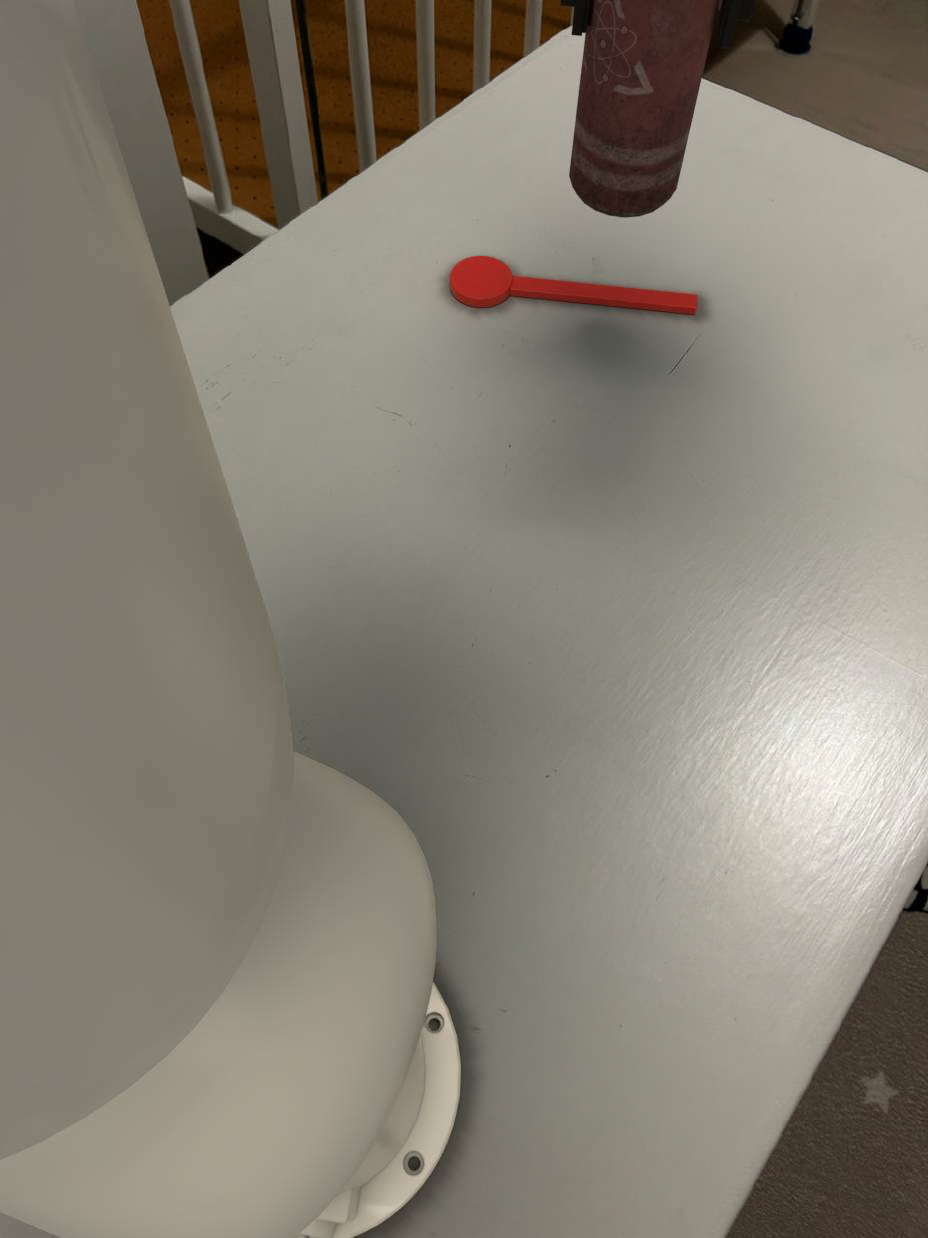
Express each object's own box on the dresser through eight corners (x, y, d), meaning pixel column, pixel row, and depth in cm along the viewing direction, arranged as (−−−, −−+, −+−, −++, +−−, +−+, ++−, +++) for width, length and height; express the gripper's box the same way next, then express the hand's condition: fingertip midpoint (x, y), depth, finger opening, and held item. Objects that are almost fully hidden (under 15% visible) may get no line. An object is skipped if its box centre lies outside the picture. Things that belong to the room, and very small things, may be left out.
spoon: (696, 285, 68) (698, 276, 68) (694, 330, 66) (697, 321, 65) (454, 261, 69) (454, 252, 69) (445, 304, 67) (445, 295, 67)
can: (675, 228, 53) (740, -51, 41) (561, 212, 54) (592, -68, 42) (685, 160, 56) (748, -119, 44) (576, 146, 57) (610, -134, 45)
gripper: (470, -515, 31) (466, 55, 46) (1033, -487, 30) (834, 87, 45) (499, -574, 34) (486, -29, 50) (1000, -552, 33) (827, -1, 49)
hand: (652, 22), depth 47 cm, fingers closed on can, 6 cm apart
